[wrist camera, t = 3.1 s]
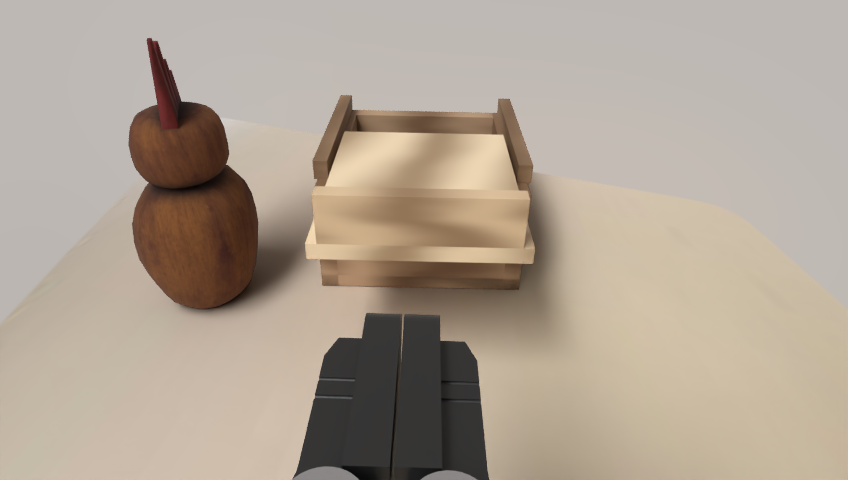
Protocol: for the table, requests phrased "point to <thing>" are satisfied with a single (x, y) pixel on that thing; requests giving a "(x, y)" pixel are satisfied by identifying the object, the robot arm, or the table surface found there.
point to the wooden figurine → (190, 199)
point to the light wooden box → (422, 123)
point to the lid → (421, 201)
